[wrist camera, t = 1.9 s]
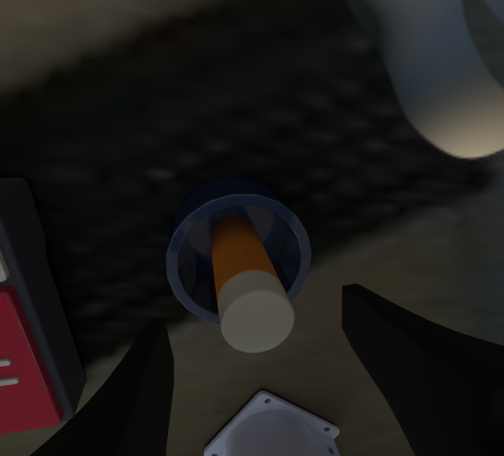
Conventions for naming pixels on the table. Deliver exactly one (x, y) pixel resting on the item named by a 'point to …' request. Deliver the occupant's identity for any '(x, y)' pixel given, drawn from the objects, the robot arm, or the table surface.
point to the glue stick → (248, 289)
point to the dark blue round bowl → (205, 219)
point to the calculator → (32, 323)
